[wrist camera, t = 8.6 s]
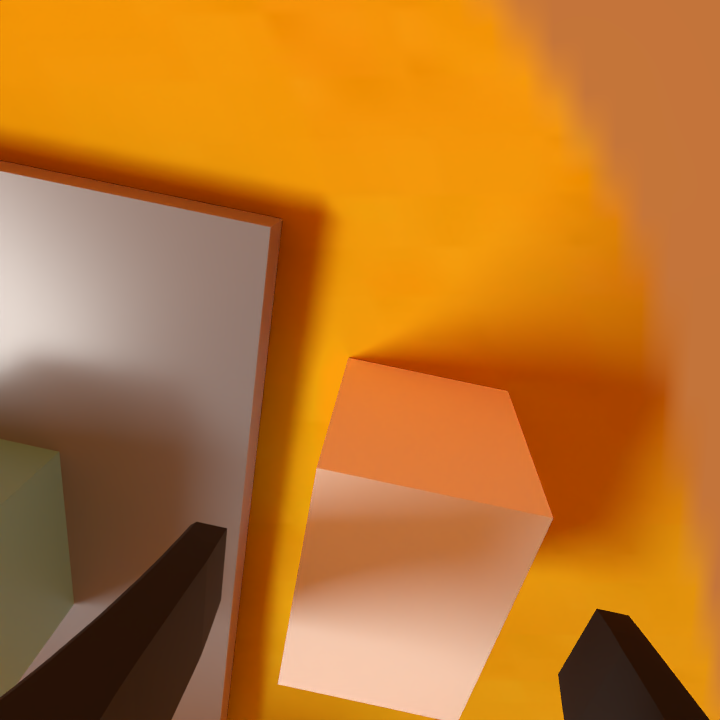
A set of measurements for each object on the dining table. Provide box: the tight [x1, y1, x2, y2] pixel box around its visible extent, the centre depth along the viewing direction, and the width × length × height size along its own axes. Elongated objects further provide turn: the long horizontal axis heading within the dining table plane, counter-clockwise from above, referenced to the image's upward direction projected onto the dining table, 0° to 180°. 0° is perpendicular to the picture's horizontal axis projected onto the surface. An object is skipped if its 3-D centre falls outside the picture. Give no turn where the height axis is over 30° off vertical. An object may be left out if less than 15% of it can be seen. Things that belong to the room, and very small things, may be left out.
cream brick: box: [278, 358, 553, 720], centre depth 12 cm, size 6×4×4 cm, turn 170°
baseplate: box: [0, 161, 283, 720], centre depth 15 cm, size 20×14×1 cm
